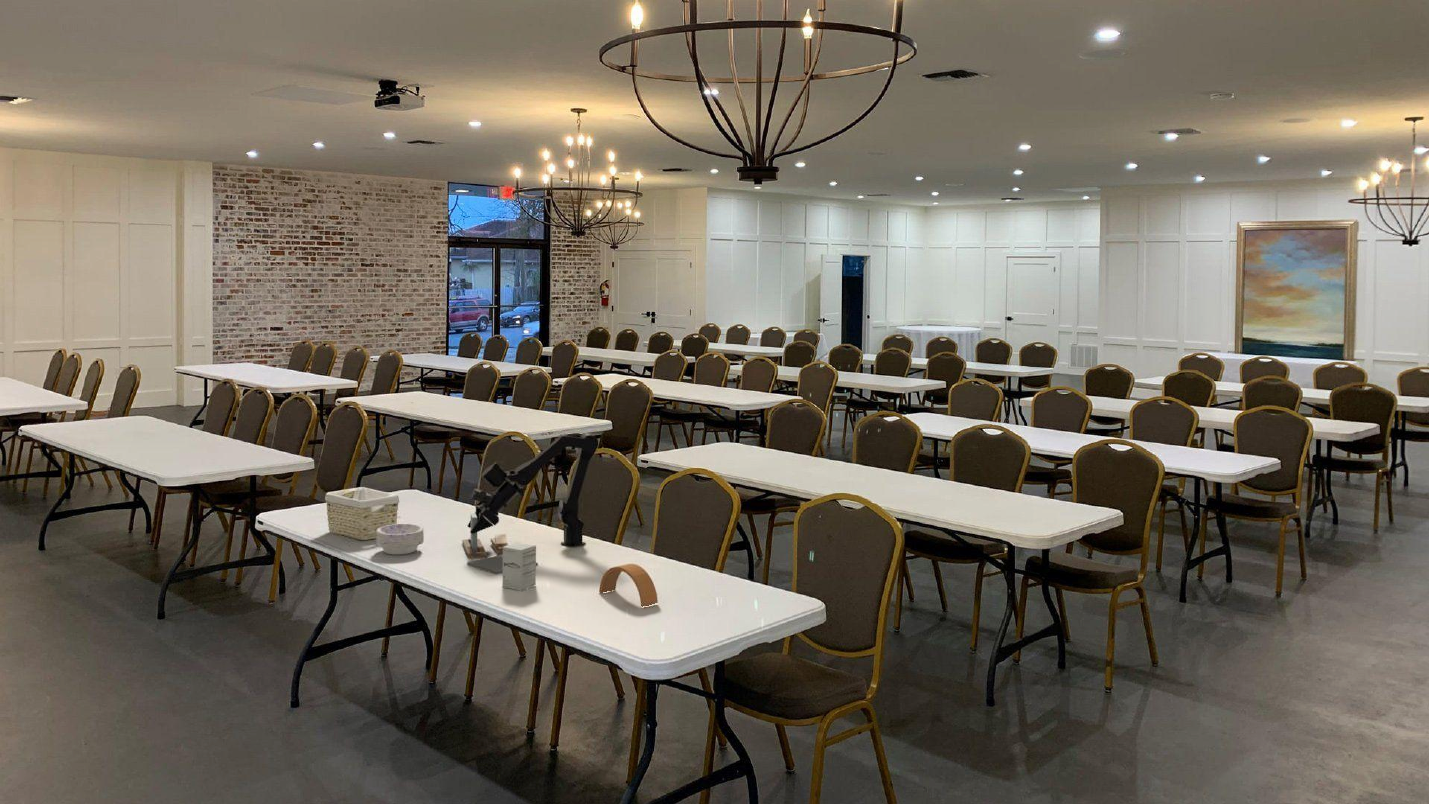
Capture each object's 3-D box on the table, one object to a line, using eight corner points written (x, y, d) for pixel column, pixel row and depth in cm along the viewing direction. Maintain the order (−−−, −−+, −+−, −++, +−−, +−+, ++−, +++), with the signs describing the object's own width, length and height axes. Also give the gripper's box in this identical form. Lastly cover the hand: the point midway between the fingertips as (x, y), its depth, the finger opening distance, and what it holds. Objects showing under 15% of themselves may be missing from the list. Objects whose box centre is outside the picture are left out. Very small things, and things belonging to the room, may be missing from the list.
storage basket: (323, 532, 389) (322, 491, 388) (363, 524, 402) (362, 485, 400) (361, 543, 374) (361, 501, 373) (401, 535, 387) (401, 494, 385)
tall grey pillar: (475, 548, 370) (475, 513, 369) (477, 552, 364) (477, 517, 363) (470, 548, 369) (470, 513, 368) (472, 552, 364) (472, 517, 362)
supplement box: (501, 588, 323) (501, 546, 322) (517, 582, 330) (517, 541, 328) (521, 591, 320) (521, 549, 318) (536, 585, 326) (536, 544, 325)
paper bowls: (395, 559, 353) (395, 536, 352) (367, 552, 362) (366, 528, 361) (433, 551, 365) (433, 528, 364) (405, 543, 374) (404, 521, 373)
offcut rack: (504, 541, 380) (504, 532, 380) (512, 555, 361) (512, 545, 361) (462, 543, 375) (462, 534, 375) (468, 558, 356) (468, 548, 356)
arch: (614, 590, 324) (614, 557, 322) (657, 605, 309) (658, 571, 308) (599, 593, 320) (599, 560, 318) (642, 609, 305) (642, 574, 304)
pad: (537, 565, 349) (537, 562, 349) (496, 574, 338) (496, 571, 338) (508, 556, 360) (508, 553, 360) (467, 564, 349) (467, 562, 349)
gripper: (482, 475, 374) (449, 508, 372) (488, 485, 357) (454, 520, 354) (505, 497, 378) (473, 529, 375) (512, 508, 360) (479, 542, 358)
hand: (469, 530), depth 366 cm, fingers open, 9 cm apart
